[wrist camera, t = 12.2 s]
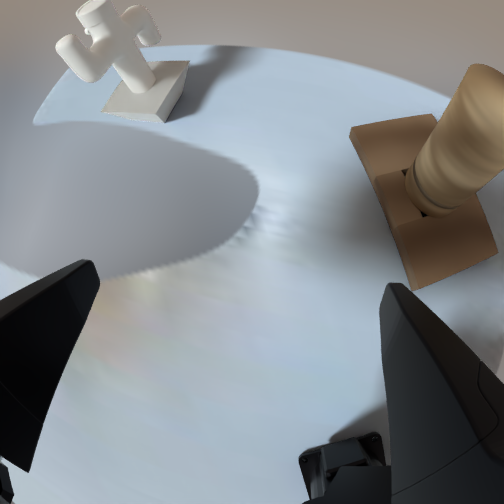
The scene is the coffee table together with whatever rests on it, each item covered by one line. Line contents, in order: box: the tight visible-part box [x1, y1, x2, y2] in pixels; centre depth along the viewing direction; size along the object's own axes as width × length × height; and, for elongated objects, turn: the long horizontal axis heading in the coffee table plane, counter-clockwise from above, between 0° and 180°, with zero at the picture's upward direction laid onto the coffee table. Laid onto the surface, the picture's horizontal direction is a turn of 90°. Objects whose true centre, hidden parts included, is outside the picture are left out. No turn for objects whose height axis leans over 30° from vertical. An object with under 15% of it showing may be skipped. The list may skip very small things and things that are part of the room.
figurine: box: [56, 0, 190, 123], centre depth 20 cm, size 7×9×15 cm
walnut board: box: [349, 114, 498, 291], centre depth 20 cm, size 14×9×2 cm, turn 15°
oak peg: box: [405, 64, 504, 218], centre depth 15 cm, size 5×5×13 cm
